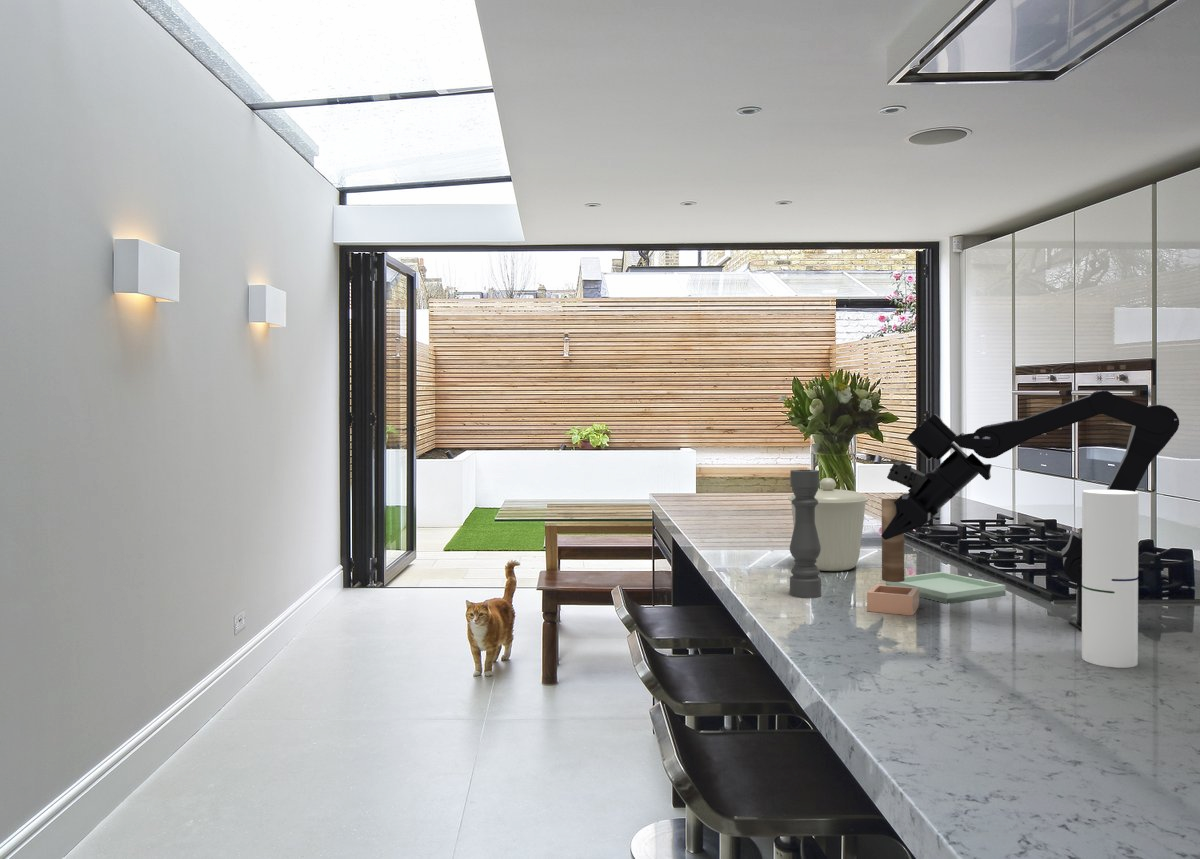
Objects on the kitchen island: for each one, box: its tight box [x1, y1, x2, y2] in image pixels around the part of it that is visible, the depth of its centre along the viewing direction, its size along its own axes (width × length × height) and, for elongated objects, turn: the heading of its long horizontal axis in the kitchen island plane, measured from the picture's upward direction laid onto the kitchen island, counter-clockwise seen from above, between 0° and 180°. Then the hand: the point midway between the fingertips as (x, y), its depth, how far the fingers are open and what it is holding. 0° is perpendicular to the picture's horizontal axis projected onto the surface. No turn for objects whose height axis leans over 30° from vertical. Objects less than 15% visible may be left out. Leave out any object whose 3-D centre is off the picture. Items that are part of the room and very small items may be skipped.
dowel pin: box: [881, 498, 905, 582], centre depth 164 cm, size 4×4×15 cm
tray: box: [885, 571, 1007, 605], centre depth 178 cm, size 16×16×2 cm
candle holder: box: [789, 469, 822, 599], centre depth 177 cm, size 6×6×25 cm
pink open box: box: [866, 584, 920, 616], centre depth 164 cm, size 8×8×4 cm
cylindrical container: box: [1081, 489, 1139, 669], centre depth 129 cm, size 7×7×25 cm
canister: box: [788, 477, 869, 572], centre depth 205 cm, size 18×18×21 cm
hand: (885, 536), depth 164 cm, fingers closed on dowel pin, 4 cm apart
